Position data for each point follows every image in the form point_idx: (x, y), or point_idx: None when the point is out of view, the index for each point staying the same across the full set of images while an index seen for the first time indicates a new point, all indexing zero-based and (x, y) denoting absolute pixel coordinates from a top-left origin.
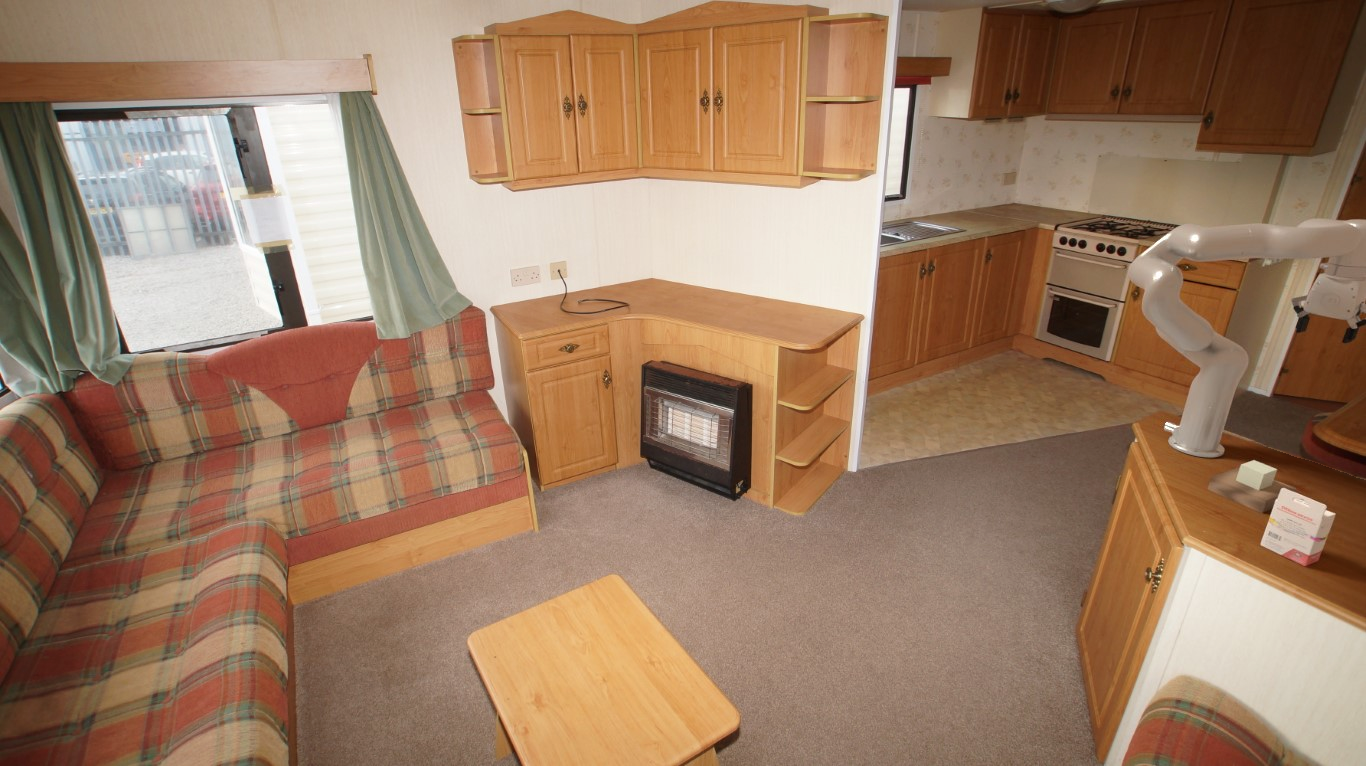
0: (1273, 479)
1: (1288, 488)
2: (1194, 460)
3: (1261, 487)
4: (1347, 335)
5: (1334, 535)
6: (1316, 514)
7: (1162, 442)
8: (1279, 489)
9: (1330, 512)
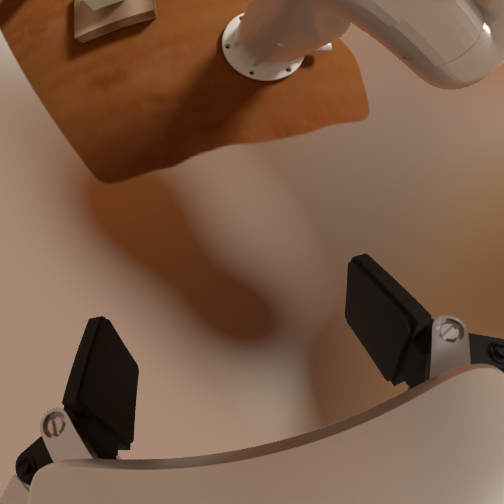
0: (90, 6)
1: (79, 27)
2: (226, 7)
3: None
4: (78, 356)
5: (24, 39)
6: None
7: None
8: (82, 14)
9: None
